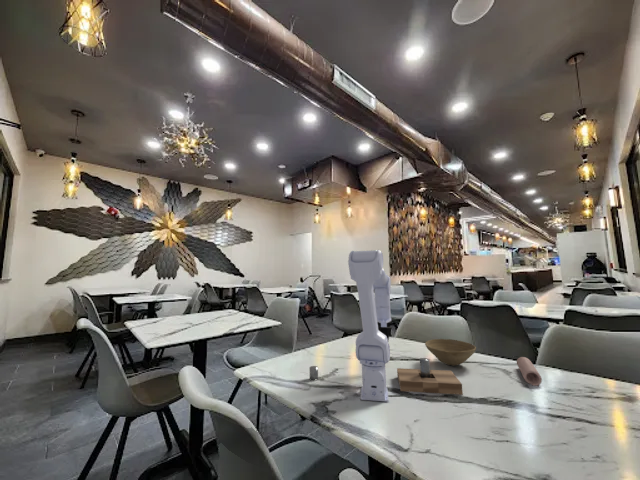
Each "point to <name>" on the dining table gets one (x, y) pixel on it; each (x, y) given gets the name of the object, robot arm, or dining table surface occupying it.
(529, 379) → the coil
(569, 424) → the dining table surface
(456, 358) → the bowl
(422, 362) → the tall pin
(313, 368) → the short pin
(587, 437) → the dining table surface
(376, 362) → the robot arm
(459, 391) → the hole plate
